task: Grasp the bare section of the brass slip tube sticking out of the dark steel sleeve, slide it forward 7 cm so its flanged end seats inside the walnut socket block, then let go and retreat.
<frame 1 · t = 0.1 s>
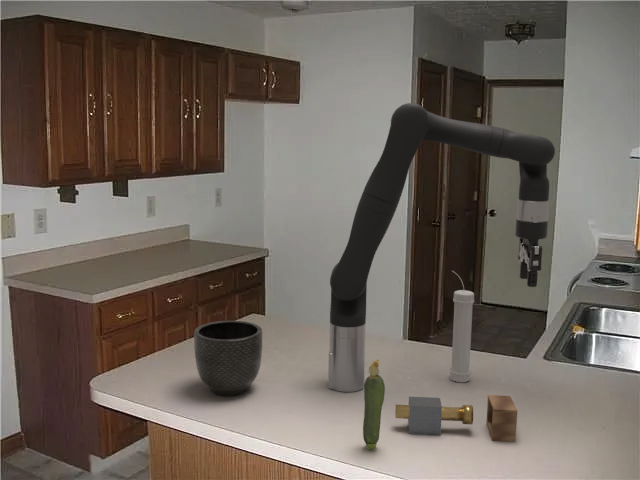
hand: (527, 282, 170), 29 cm above the countertop, fingers open, 8 cm apart
tube: (433, 413, 153), point 4 cm above the countertop, slide at 0.0 cm
planter: (229, 390, 175), on the countertop
sleeve: (423, 429, 154), on the countertop
vegetable: (372, 448, 145), on the countertop
socket: (500, 432, 152), on the countertop
pipe: (458, 379, 184), on the countertop
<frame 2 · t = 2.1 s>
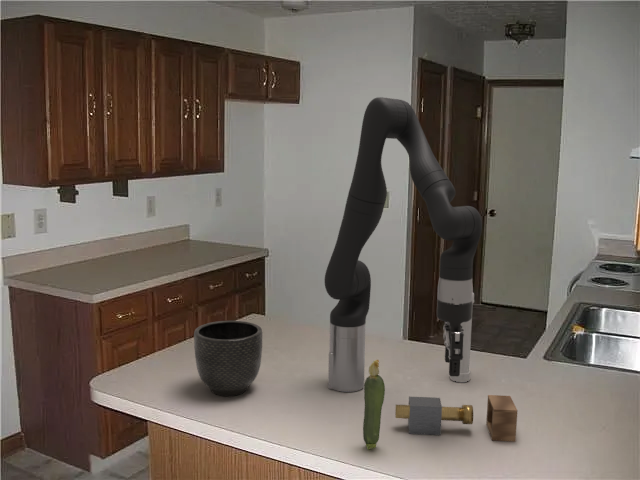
hand: (451, 368, 151), 15 cm above the countertop, fingers open, 8 cm apart
nothing on the countertop moved.
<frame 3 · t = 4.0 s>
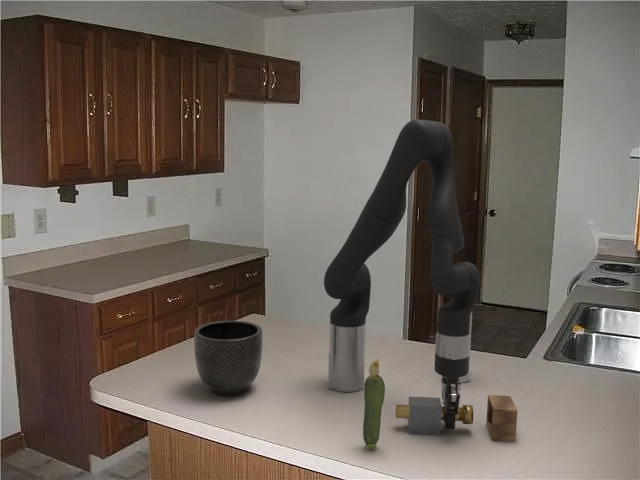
hand: (448, 424, 153), 1 cm above the countertop, fingers closed on tube, 3 cm apart
tube: (433, 413, 153), point 4 cm above the countertop, slide at 0.0 cm, touching gripper
everything else where it was.
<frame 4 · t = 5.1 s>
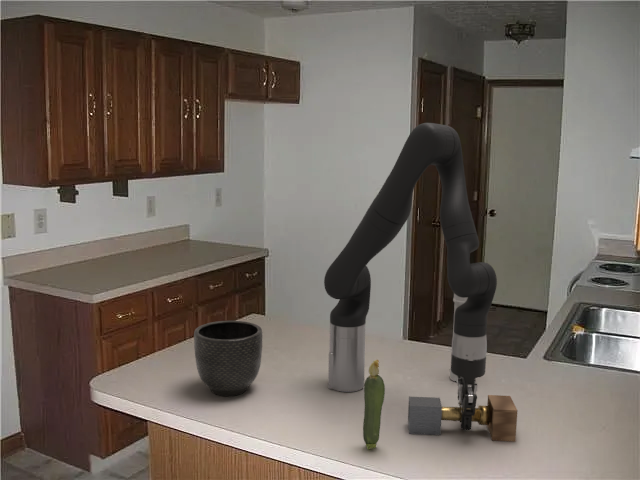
hand: (464, 425, 153), 1 cm above the countertop, fingers closed on tube, 3 cm apart
tube: (449, 413, 152), point 4 cm above the countertop, slide at 3.6 cm, touching gripper
everything else where it was.
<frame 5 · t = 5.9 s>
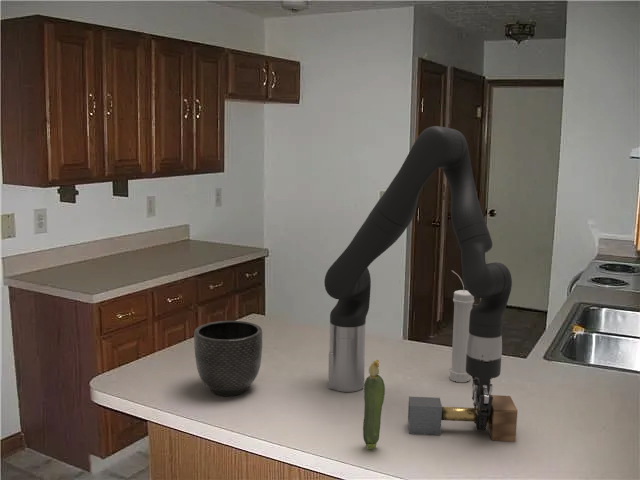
hand: (479, 426, 152), 1 cm above the countertop, fingers closed on tube, 3 cm apart
tube: (464, 414, 152), point 4 cm above the countertop, slide at 6.8 cm, touching gripper
everything else where it was.
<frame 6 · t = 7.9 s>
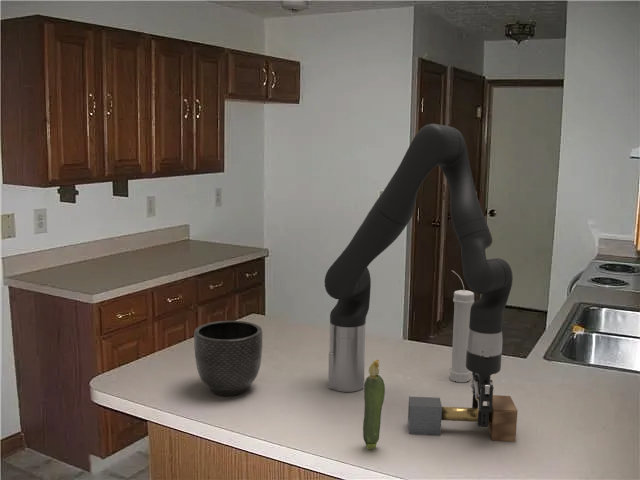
hand: (479, 418, 152), 3 cm above the countertop, fingers open, 8 cm apart
tube: (464, 414, 152), point 4 cm above the countertop, slide at 6.9 cm
everything else where it was.
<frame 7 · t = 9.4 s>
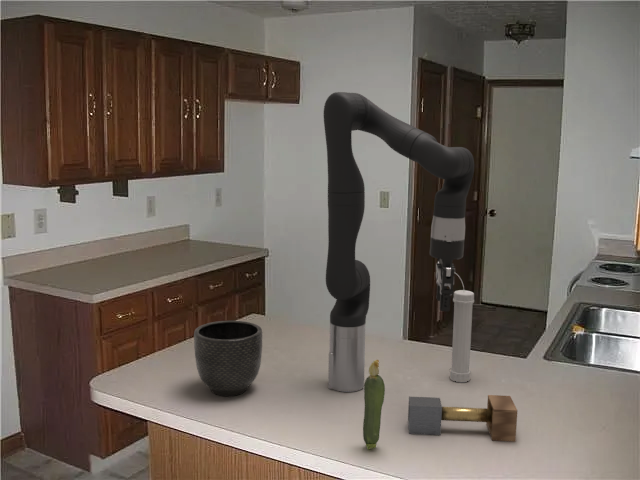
hand: (442, 305, 156), 27 cm above the countertop, fingers open, 8 cm apart
nothing on the countertop moved.
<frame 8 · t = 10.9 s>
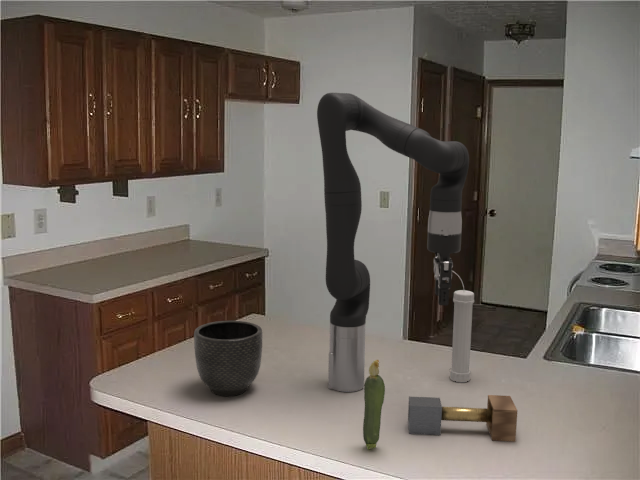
hand: (441, 300, 156), 28 cm above the countertop, fingers open, 8 cm apart
nothing on the countertop moved.
at the end: tube slide at 6.9 cm; the gripper is holding nothing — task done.
